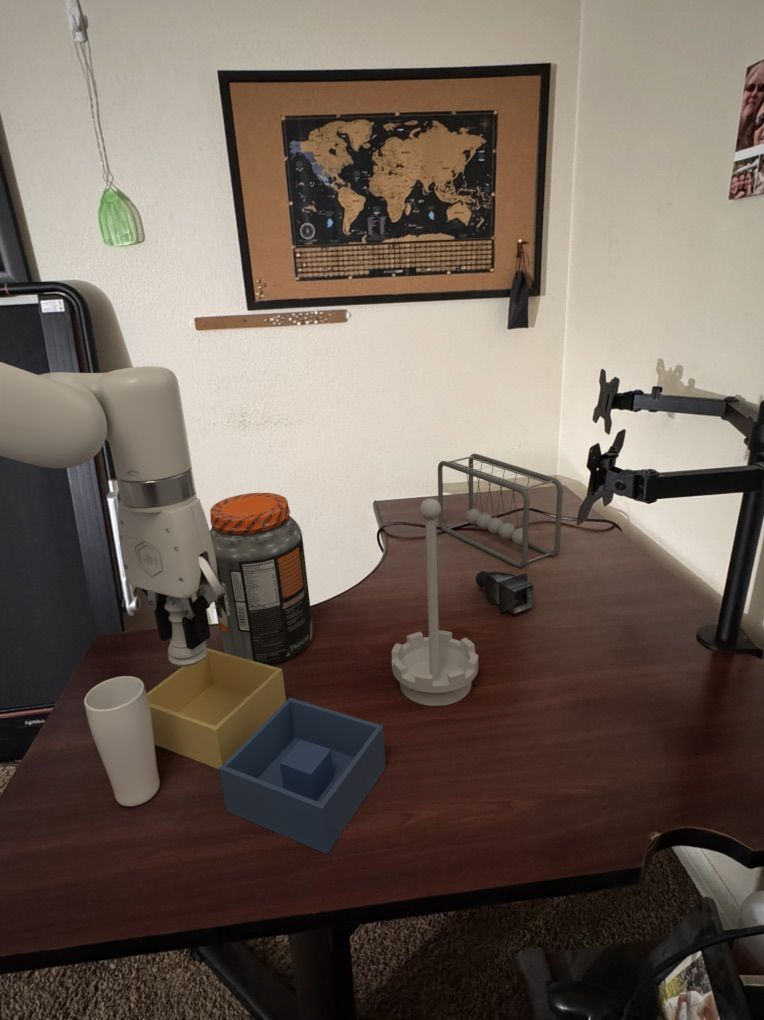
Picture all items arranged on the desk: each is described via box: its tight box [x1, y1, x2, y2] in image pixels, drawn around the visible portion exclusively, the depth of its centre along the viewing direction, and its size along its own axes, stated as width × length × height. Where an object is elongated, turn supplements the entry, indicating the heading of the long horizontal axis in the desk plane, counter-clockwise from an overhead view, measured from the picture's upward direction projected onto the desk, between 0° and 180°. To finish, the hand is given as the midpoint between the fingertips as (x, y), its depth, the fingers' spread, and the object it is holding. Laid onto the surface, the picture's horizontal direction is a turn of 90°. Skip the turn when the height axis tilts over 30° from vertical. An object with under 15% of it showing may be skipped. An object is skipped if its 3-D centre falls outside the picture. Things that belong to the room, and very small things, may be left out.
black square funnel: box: [475, 570, 534, 615], centre depth 118 cm, size 6×13×6 cm, turn 30°
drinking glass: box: [83, 675, 161, 807], centre depth 76 cm, size 7×7×15 cm
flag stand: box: [391, 497, 479, 707], centre depth 91 cm, size 13×13×30 cm
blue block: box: [280, 739, 334, 801], centre depth 77 cm, size 4×4×4 cm
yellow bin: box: [146, 647, 287, 770], centre depth 89 cm, size 14×14×7 cm
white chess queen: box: [164, 596, 208, 668], centre depth 72 cm, size 4×4×8 cm
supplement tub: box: [209, 492, 314, 665], centre depth 105 cm, size 16×16×26 cm
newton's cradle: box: [437, 453, 564, 569], centre depth 142 cm, size 30×10×18 cm, turn 32°
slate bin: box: [218, 697, 387, 855], centre depth 77 cm, size 14×14×7 cm
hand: (185, 637), depth 72 cm, fingers closed on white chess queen, 3 cm apart
